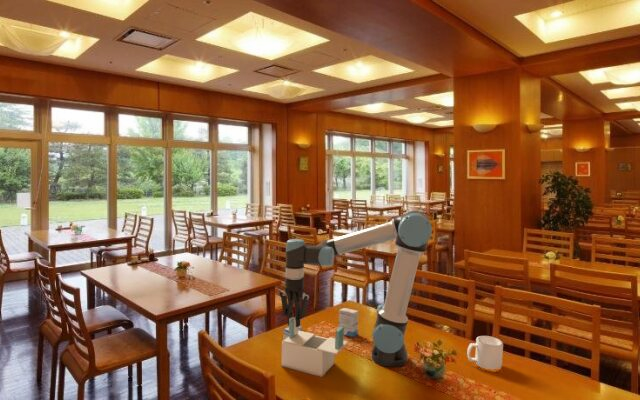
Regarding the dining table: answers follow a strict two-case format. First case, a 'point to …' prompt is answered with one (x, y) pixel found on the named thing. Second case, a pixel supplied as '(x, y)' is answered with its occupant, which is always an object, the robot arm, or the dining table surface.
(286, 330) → the medicine box
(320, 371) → the carton
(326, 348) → the flap near
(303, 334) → the flap far
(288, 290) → the robot arm
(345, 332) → the ink box
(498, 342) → the mug
